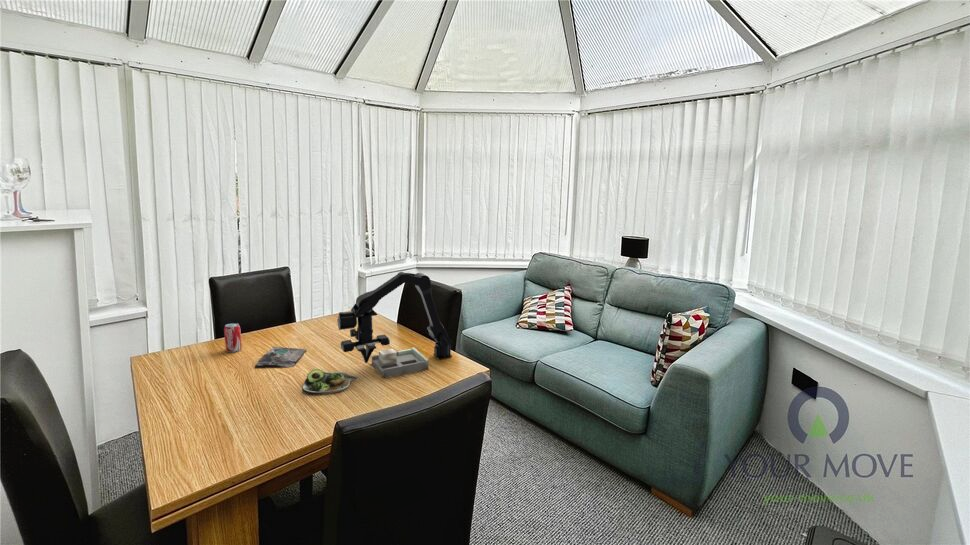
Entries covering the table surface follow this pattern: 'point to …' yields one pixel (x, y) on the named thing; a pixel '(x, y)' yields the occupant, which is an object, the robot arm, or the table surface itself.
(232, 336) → the soda can
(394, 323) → the table surface
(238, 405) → the table surface
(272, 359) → the terrain model
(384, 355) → the cream block
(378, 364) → the box
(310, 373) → the salad plate
